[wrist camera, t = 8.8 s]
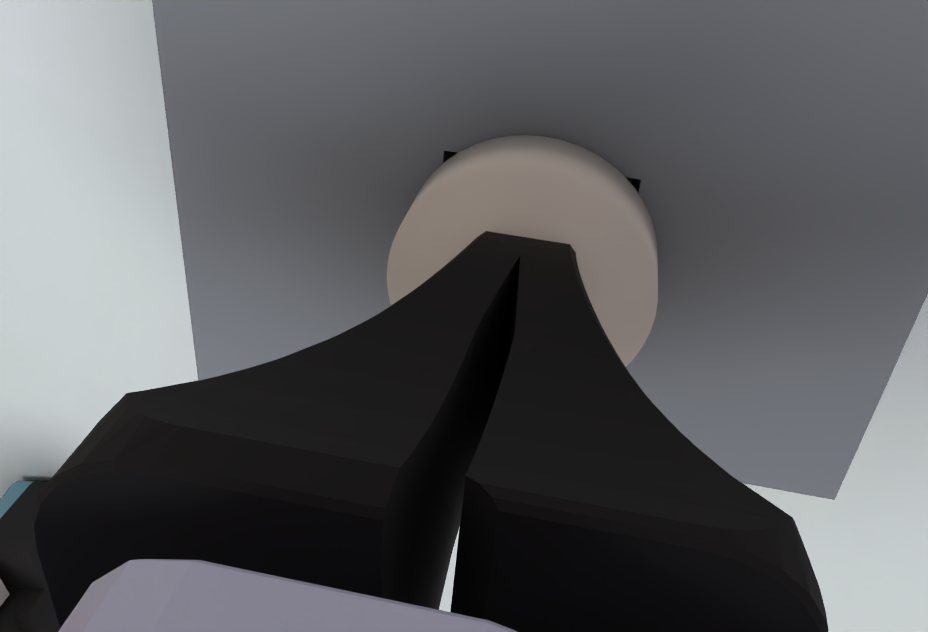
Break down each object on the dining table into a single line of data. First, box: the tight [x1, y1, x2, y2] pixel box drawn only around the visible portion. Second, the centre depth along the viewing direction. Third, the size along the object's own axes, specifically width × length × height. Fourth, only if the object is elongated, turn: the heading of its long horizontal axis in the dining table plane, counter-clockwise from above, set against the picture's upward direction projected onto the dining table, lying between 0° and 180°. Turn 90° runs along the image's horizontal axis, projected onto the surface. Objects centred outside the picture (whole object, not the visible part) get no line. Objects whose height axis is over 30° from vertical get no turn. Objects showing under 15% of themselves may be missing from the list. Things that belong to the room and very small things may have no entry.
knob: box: [387, 135, 658, 367], centre depth 14 cm, size 4×4×3 cm
